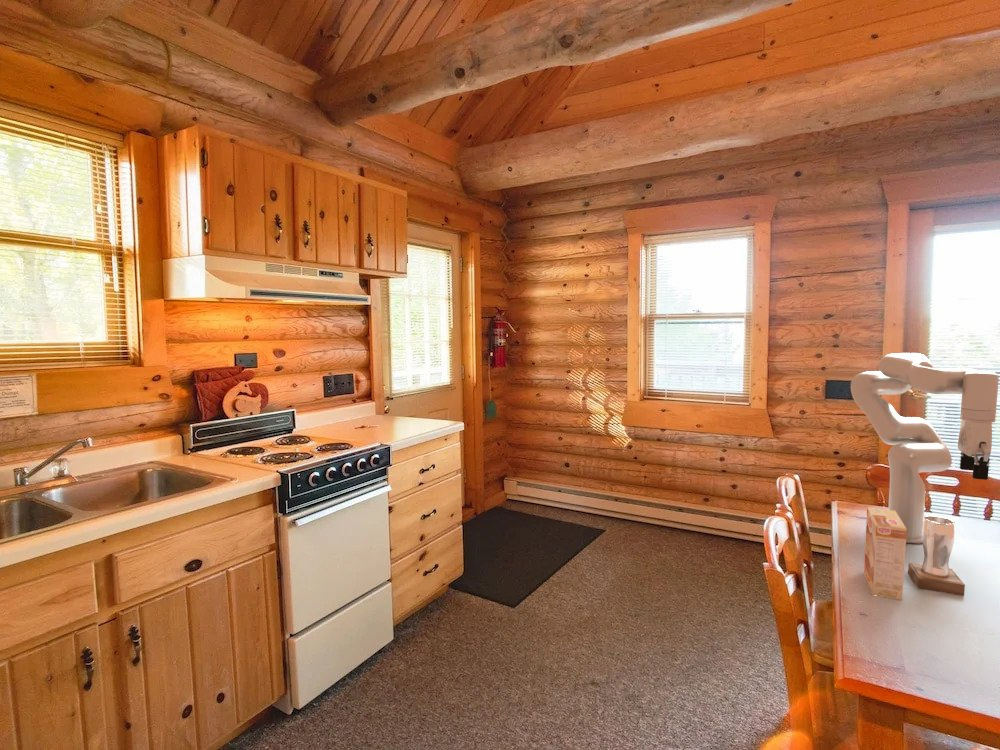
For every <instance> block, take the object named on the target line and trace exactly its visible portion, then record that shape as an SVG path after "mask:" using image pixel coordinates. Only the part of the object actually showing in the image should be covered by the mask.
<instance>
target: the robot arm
mask: <svg viewBox="0 0 1000 750" xmlns="http://www.w3.org/2000/svg"><path fill="white" fill-rule="evenodd" d="M877 368H878V369H879V371H877V370H875V371H874V370H873V371H863V372H859V373H857V374H856V375H854V376H853V377H852V379H851V381H850V393H851V396H852V398H853V401H854V402H855V404H856V405H857V406H858V407H859V409H860V410H861V411H862V412H863V413H864V416H866V417H867V419H868V421H869V422H870V424H871V426H872V428H873V429H874V431H875V432H876V434H877V435H878V437H879V439H881V441H882V442H883V443H884V444H886V445H890V446H891V447H890V449H888V452H887V461H888V467H889V493H888V509H887V510H894V511H896V513H897V514H898V516H899V518H900V519H901V521H902V522H903V524H904V525H905V527H906V529H907V533H906V544H908V543H909V544H923V542H922V528H923V522H924V517H925V503H926V499H925V498H926V484H925V482H924V480H923V479H922V477H921V476H920V473H937V472H944V471H946V470H948V469H949V468H951V465H952V458H953V457H952V455H951V452H950V449H949V448H948V447H947V445H946V444H945V443H944V441H943V440H942V438H941V437H940V435H939V433H938V432H937V431H936V429H935V428H934V426H932V424H931V423H930V422H929V421H927V420H926V419H924V418H922V417H917V416H912V417H911V416H906V417H905V416H901V415H900V414H898V411H896V409H895V408H894V406H893V405H892V404H891V403H890V402H889V401H888V400H886V399H884V398H882V397H881V396H886V395H887V396H890V395H891V396H893V395H895V396H896V395H897V396H898V395H902V394H904V393H906V392H908V391H909V390H911V389H914V390H917V391H920V392H924V393H928V394H932V395H951V394H952V395H961V404H960V405H961V406H960V417H959V418H960V420H961V423H960V427H959V432H958V442H957V449H958V450H959V452H960V461H959V463H960V464H959V469H960V470H962V471H972V478H973V479H975V480H983V481H987V480H988V479H989V467H990V460H991V459H990V457H991V455H992V453H991V452H992V445H993V424H992V423H995V422H996V417H997V404H998V403H997V402H998V391H999V382H1000V381H999V376H998V374H997V373H996V372H992V371H984V370H982V371H981V370H978V369H973V368H969V367H968V368H965V367H964V368H963V367H961V368H960V367H958V368H957V367H956V368H952V367H951V368H949V367H948V368H934V365H933V363H932V362H931V361H930V360H929V358H928V357H927V356H926V355H924V354H923V353H922V354H921V353H918V352H911V353H910V352H901V353H900V352H899V353H890V354H886V355H884V356H883V357H882V358H881V359H880V360H879V362H878V367H877Z"/></svg>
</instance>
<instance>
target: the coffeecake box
mask: <svg viewBox="0 0 1000 750" xmlns="http://www.w3.org/2000/svg"><path fill="white" fill-rule="evenodd" d="M865 522H866V524H865V541H864V542H865V543H864V560H863V561H864V562H863V575H864V577H865V580H866V583H867V586H868V588H869V591H870V592H871V595H872V596H874V595H877V596H876V597H879V596H882V597H881V598H886V597H887V599H893V600H899V601H903V594H904V576H905V566H906V565H905V563H906V548H907V547H906V546H907V542H906V533H907V529H906V527H905V525H904V524H903V522H902V521H901V519H900V518H899V516H898V514H897V513H896V511H894V510H888V509H884V508H879V507H878V508H877V507H866V521H865Z"/></svg>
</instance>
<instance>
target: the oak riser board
mask: <svg viewBox="0 0 1000 750" xmlns="http://www.w3.org/2000/svg"><path fill="white" fill-rule="evenodd" d="M922 565H923V564H920V563H919V564H918V563H911V562H908V566H907V567H908V570H907V574H908V576H909V577H910V579H911V580H912V582H913V583H914V585H915V586H916V588H917V590H923V591H929V592H936V593H937V592H938V593H943V594H950V595H957V596H963V597H964V596H965V589H966V588H965V587H966V584H965V583H964V582H963V580H962V579H961V578H960V577H959V576H958V575H957V573H956V572H955V571H954V570H953V568H949V573H950V575H949V576H948V577H937V576H932V575H929V574H927V573H925V572H923V571H922Z"/></svg>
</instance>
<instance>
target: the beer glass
mask: <svg viewBox="0 0 1000 750" xmlns="http://www.w3.org/2000/svg"><path fill="white" fill-rule="evenodd" d="M955 533H956V531H955V521H954V520H952V519H950V518H947V517H943V516H938V515H926V516H925V515H924V518H923V528H922V542H923V543H922V547H923V562H922V564H921V565H922V571H923V572H925V573H927V574H929V575H932V576H937V577H948V576H949V575H950V573H949V569H950V568H949V563H950V562H949V561H950V558H951V557H950V556H951V554H952V550H953V547H954V543H955Z"/></svg>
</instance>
